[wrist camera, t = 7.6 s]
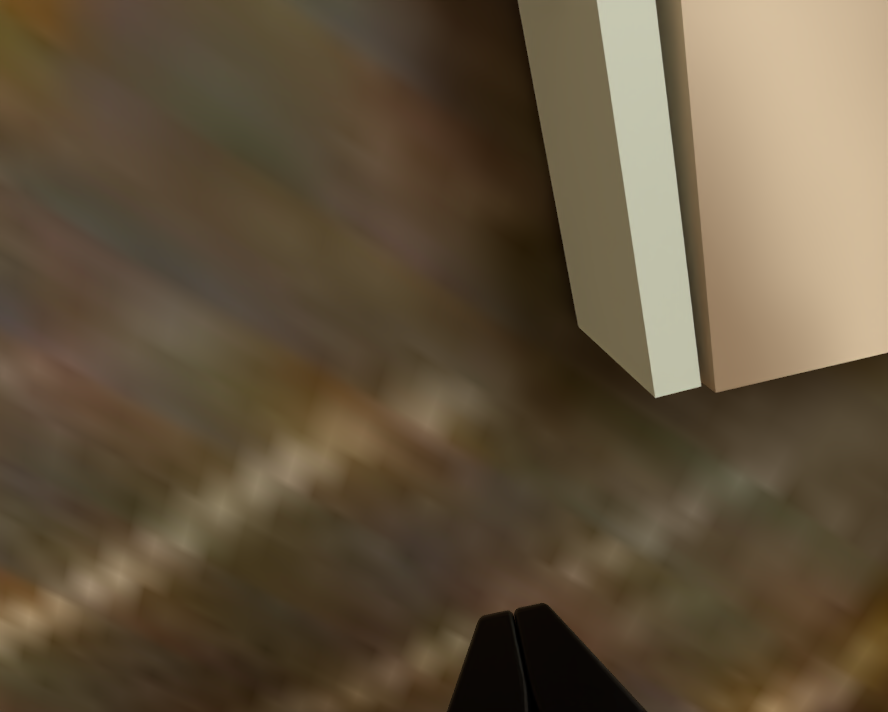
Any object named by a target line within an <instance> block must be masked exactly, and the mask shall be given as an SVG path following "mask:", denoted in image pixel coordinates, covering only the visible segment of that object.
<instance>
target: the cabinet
mask: <svg viewBox="0 0 888 712" xmlns="http://www.w3.org/2000/svg"><path fill="white" fill-rule="evenodd" d="M655 2H656V10H657V19H658V27H659V36H660V44H661V52H662V61H663V69H664V78H665V86H666V94H667V103H668V111H669V120H670V128H671V136H672V145H673V153H674V162H675V170H676V179H677V187H678V195H679V204H680V212H681V221H682V229H683V237H684V246H685V254H686V263H687V271H688V279H689V288H690V296H691V305H692V313H693V322H694V330H695V338H696V347H697V355H698V364H699V372H700V380H701V382H702V383H703V384H704V385H706V386H707V387H709V388H710V389H711V390H713V391H714V392H715V393H716V392H721V391H725V390H729V389H734V388H738V387H742V386H747V385H751V384H755V383H759V382H764V381H768V380H772V379H777V378H781V377H785V376H789V375H794V374H798V373H802V372H807V371H811V370H815V369H819V368H824V367H828V366H832V365H837V364H841V363H845V362H849V361H854V360H858V359H862V358H867V357H871V356H875V355H880V354H884V353H888V0H655Z"/></svg>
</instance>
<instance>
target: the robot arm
mask: <svg viewBox="0 0 888 712" xmlns="http://www.w3.org/2000/svg"><path fill="white" fill-rule="evenodd" d="M514 617H515V619H514ZM515 622H516V623H515ZM447 712H647V711H646V710H645V709H644V708H643V707H642V706H641V705H640V703H639V702H638V701H637V700H636V699H635V698H634V697H633V696H632V695H631V694H630V693H629V692H628V690H627V689H626V688H625V687H624V686H623V685H622V684H621V683H620V682H619V681H618V680H617V679H616V678H615V676H614V675H613V674H612V673H611V672H610V671H609V670H608V669H607V668H606V667H605V666H604V665H603V664H602V662H601V661H600V660H599V659H598V658H597V657H596V656H595V655H594V654H593V653H592V652H591V651H590V650H589V648H588V647H587V646H586V645H585V644H584V643H583V642H582V641H581V640H580V639H579V638H578V637H577V636H576V634H575V633H574V632H573V631H572V630H571V629H570V628H569V627H568V626H567V625H566V624H565V623H564V622H563V620H562V619H561V618H560V617H559V616H558V615H557V614H556V613H555V612H554V611H553V610H552V609H551V608H550V607H549V606H548V605H547V604H544V603H540V604H535V605H531V606H526V607H521V608H518V609H516V610H515V612H514V615H513V613H512V612H510V611H503V612H498V613H493V614H489V615H484V616H482V617H481V618H480V619H479V620H478V623H477V625H476V628H475V631H474V634H473V637H472V640H471V643H470V646H469V649H468V652H467V655H466V657H465V660H464V663H463V666H462V669H461V672H460V675H459V678H458V681H457V684H456V687H455V690H454V693H453V695H452V698H451V701H450V704H449V707H448V710H447Z"/></svg>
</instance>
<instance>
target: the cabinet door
mask: <svg viewBox="0 0 888 712" xmlns="http://www.w3.org/2000/svg"><path fill="white" fill-rule="evenodd" d="M518 5H519V11H520V16H521V22H522V27H523V32H524V38H525V43H526V48H527V54H528V59H529V65H530V70H531V75H532V81H533V86H534V91H535V97H536V102H537V108H538V113H539V118H540V124H541V129H542V134H543V140H544V145H545V151H546V156H547V161H548V167H549V172H550V178H551V183H552V188H553V194H554V199H555V204H556V210H557V215H558V221H559V226H560V231H561V237H562V242H563V247H564V253H565V258H566V264H567V269H568V274H569V280H570V285H571V290H572V296H573V301H574V307H575V312H576V317H577V323H578V327H579V328H580V329H581V330H582V331H583V332H584V333H586V334H587V335H588V336H589V337H590V338H591V339H592V340H593V341H594V342H595V343H596V344H597V345H599V346H600V347H601V348H602V349H603V350H604V351H605V352H606V353H607V354H608V355H609V356H610V357H612V358H613V359H614V360H615V361H616V362H617V363H618V364H619V365H620V366H621V367H622V368H623V369H625V370H626V371H627V372H628V373H629V374H630V375H631V376H632V377H633V378H634V379H635V380H636V381H638V382H639V383H640V384H641V385H642V386H643V387H644V388H645V389H646V390H647V391H648V392H649V393H651V394H652V395H653V396H654V397H655V398H657V397H661V396H665V395H669V394H673V393H677V392H681V391H685V390H689V389H693V388H697V387H701V380H700V372H699V364H698V355H697V347H696V338H695V330H694V322H693V313H692V305H691V296H690V288H689V279H688V271H687V263H686V254H685V246H684V237H683V229H682V221H681V212H680V204H679V195H678V187H677V179H676V170H675V162H674V153H673V145H672V136H671V128H670V120H669V111H668V103H667V94H666V86H665V78H664V69H663V61H662V52H661V44H660V36H659V27H658V19H657V10H656V2H655V0H518Z"/></svg>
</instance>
